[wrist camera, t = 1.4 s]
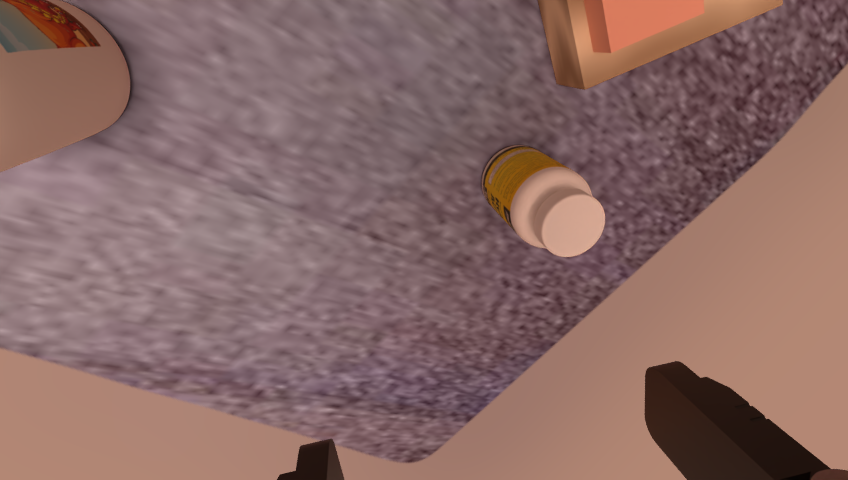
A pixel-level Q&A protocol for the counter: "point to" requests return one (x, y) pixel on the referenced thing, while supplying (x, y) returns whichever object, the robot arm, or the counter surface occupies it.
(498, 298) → the counter surface
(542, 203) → the supplement bottle
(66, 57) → the milk bottle
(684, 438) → the robot arm
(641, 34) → the salmon orange flat block
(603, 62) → the wooden block
